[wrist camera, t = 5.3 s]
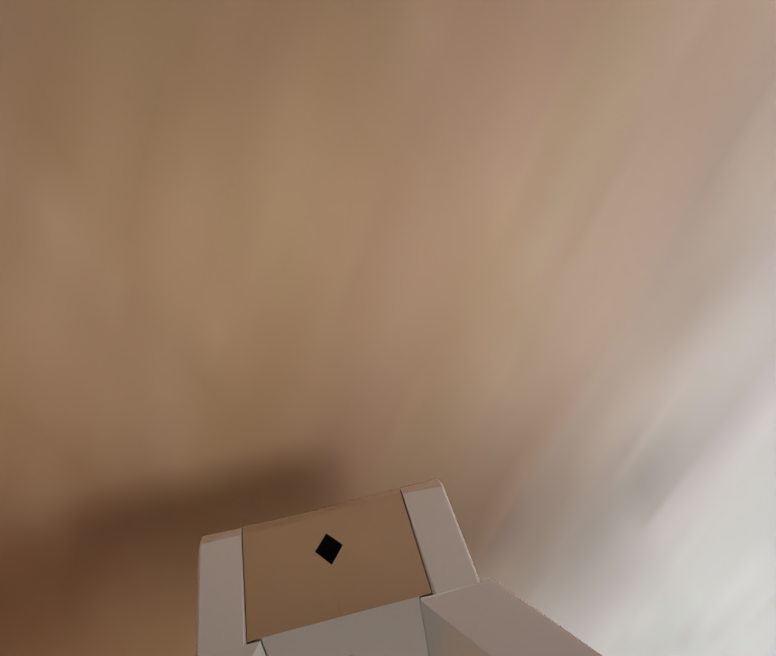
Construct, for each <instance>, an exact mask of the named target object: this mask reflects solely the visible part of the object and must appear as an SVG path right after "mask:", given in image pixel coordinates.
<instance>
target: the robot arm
mask: <svg viewBox="0 0 776 656" xmlns="http://www.w3.org/2000/svg"><path fill="white" fill-rule="evenodd" d="M196 656H602V655H601V654H599V653H598V652H596V651H595V650H594V649H592V648H591V647H589V646H588V645H586V644H585V643H584V642H582V641H581V640H579V639H578V638H576V637H575V636H573V635H572V634H571V633H569V632H568V631H566V630H565V629H563V628H562V627H561V626H559V625H558V624H556V623H555V622H553V621H552V620H551V619H549V618H548V617H546V616H545V615H543V614H542V613H541V612H539V611H538V610H536V609H535V608H533V607H532V606H530V605H529V604H528V603H526V602H525V601H523V600H522V599H520V598H519V597H518V596H516V595H515V594H513V593H512V592H510V591H509V590H508V589H506V588H505V587H503V586H502V585H500V584H499V583H498V582H496V581H495V580H493V579H492V580H488V581H483V582H481V581H480V579H479V576H478V574H477V571H476V569H475V566H474V563H473V561H472V558H471V556H470V553H469V551H468V548H467V545H466V543H465V540H464V538H463V535H462V533H461V530H460V527H459V525H458V522H457V520H456V517H455V515H454V512H453V509H452V507H451V504H450V502H449V499H448V497H447V494H446V491H445V489H444V486H443V484H442V483H441V482H440V481H439V480H438V479H433V480H429V481H425V482H421V483H418V484H414V485H410V486H406V487H402V488H400V491H399V489H394V490H390V491H386V492H382V493H379V494H375V495H371V496H367V497H363V498H359V499H355V500H351V501H348V502H344V503H340V504H336V505H332V506H328V507H324V508H323V509H319V510H315V511H310V512H306V513H301V514H297V515H292V516H288V517H283V518H279V519H274V520H270V521H265V522H261V523H256V524H252V525H247V526H244V527H242V528H237V529H233V530H228V531H224V532H219V533H215V534H210V535H206V536H202V539H201V542H200V545H199V551H198V588H197V625H196Z"/></svg>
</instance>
